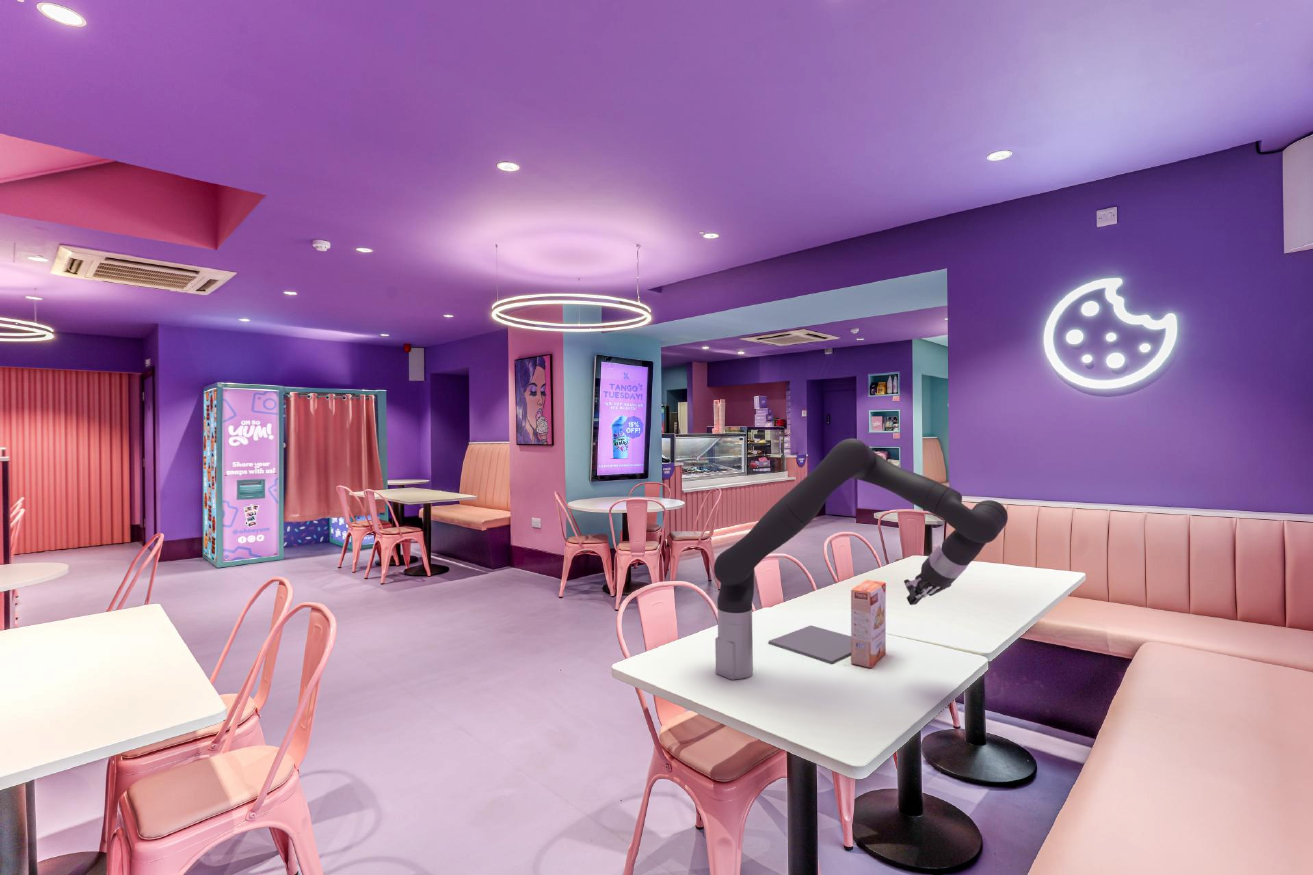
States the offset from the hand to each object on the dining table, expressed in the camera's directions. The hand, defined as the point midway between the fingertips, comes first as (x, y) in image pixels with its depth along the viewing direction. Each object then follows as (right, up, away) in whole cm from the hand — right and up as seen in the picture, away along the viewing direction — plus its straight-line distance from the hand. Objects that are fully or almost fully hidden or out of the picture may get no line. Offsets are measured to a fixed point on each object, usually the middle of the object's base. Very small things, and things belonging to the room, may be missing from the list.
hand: (910, 601), depth 150 cm
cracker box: (-5, -21, +15) cm, 26 cm away
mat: (-16, -21, +27) cm, 38 cm away
